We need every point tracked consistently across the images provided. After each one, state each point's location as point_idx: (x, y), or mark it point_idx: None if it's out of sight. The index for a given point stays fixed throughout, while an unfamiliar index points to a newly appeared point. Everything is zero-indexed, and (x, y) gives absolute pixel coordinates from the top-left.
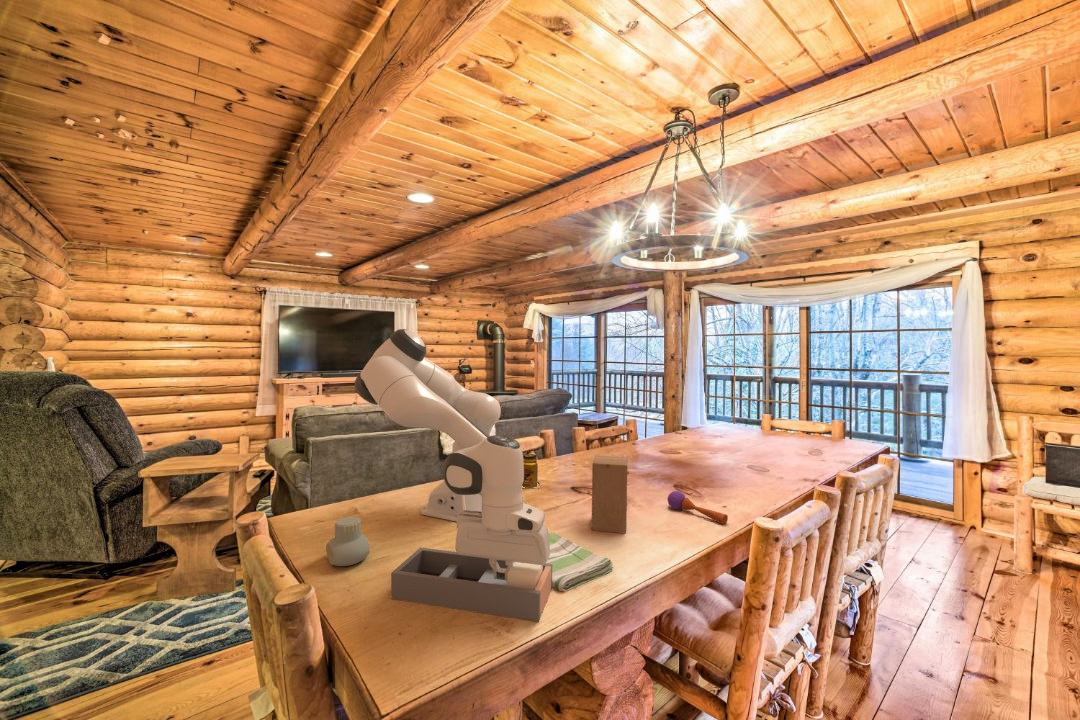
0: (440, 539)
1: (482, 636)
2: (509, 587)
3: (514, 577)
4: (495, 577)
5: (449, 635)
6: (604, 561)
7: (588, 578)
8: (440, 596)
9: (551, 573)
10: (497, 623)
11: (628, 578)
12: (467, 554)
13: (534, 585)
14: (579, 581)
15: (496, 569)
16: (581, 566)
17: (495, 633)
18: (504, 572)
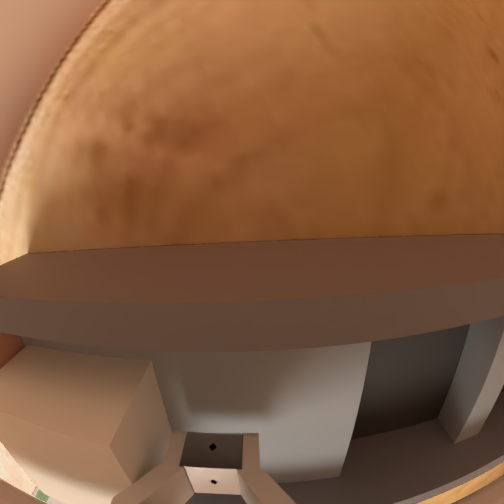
0: (470, 485)
1: (192, 70)
2: (64, 329)
3: (72, 418)
4: (249, 438)
5: (344, 42)
6: (36, 492)
7: None
8: (492, 245)
9: None
10: (160, 183)
11: (6, 451)
12: (492, 493)
13: (1, 373)
14: None
15: (244, 482)
16: None
17: (142, 111)
18: (180, 467)
